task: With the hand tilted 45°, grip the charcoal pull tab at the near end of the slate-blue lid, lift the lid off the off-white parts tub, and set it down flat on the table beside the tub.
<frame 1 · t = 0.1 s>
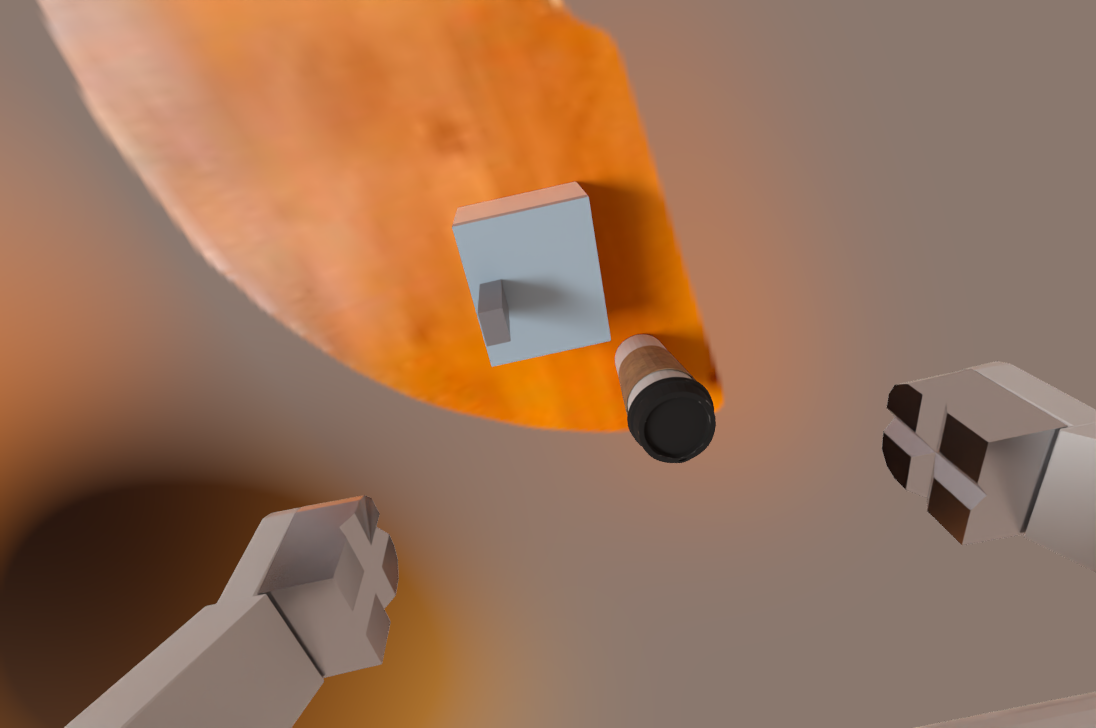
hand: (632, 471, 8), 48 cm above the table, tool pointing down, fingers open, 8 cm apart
lid: (536, 283, 50), point 7 cm above the table, touching parts tub
parts tub: (531, 261, 56), on the table
coffee cup: (638, 355, 63), on the table
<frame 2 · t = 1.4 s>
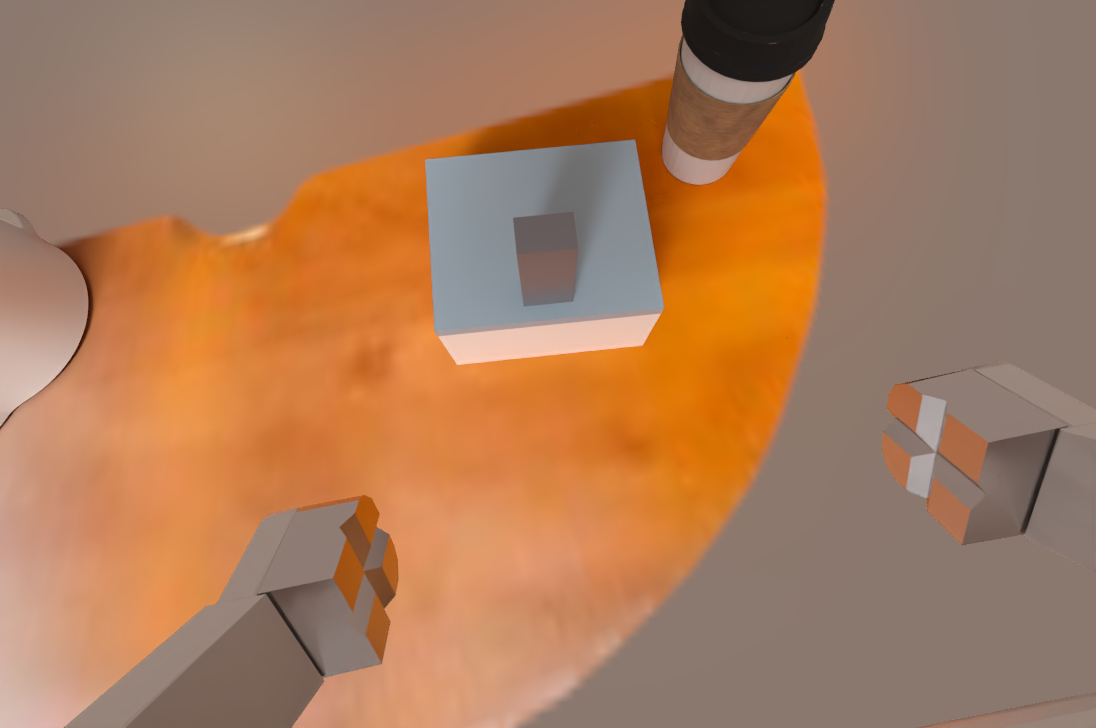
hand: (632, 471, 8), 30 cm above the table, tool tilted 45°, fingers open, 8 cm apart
lid: (540, 238, 35), point 7 cm above the table, touching parts tub
parts tub: (541, 281, 41), on the table
coffee cup: (695, 155, 45), on the table
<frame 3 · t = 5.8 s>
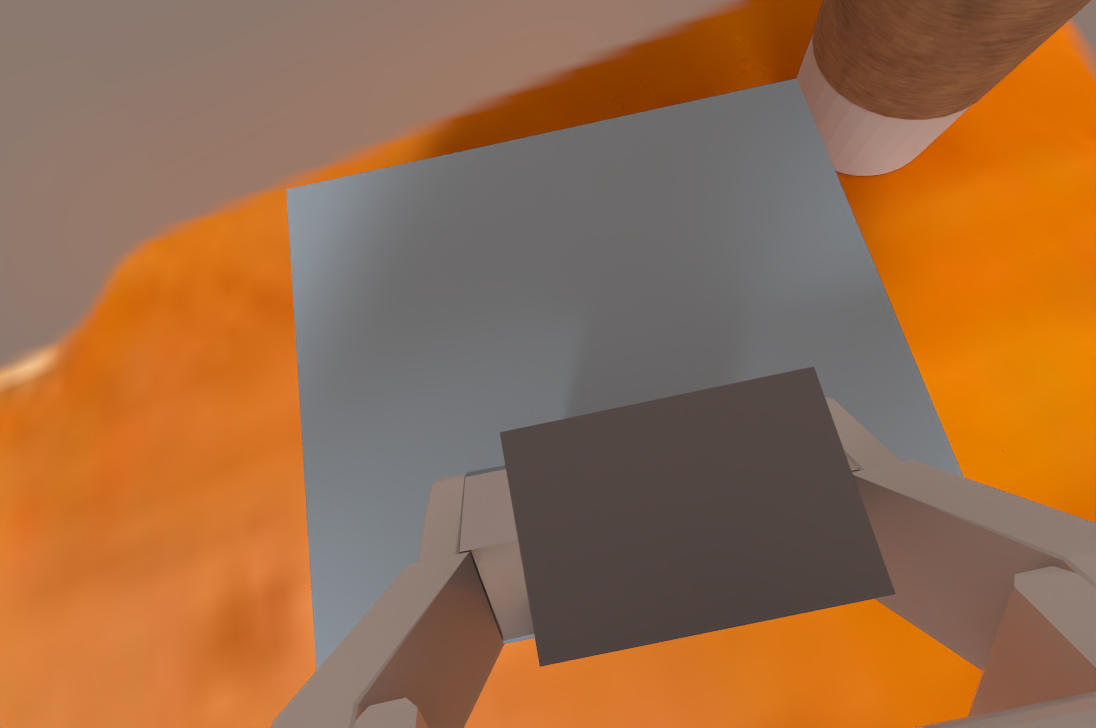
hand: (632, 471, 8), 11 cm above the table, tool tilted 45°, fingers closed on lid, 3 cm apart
lid: (587, 353, 14), point 7 cm above the table, touching gripper, parts tub
coffee cup: (854, 121, 23), on the table
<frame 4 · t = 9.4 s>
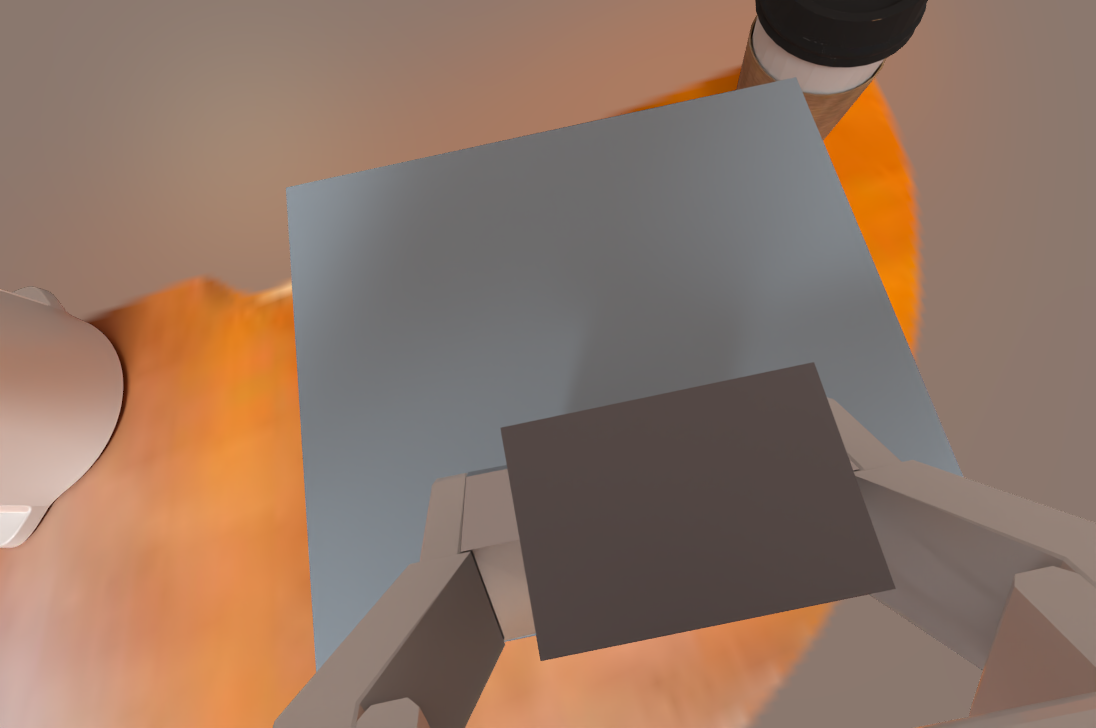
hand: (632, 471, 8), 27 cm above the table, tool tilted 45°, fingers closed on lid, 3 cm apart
lid: (587, 352, 14), point 22 cm above the table, touching gripper
coffee cup: (760, 157, 40), on the table
when the fingers open (7 cm above the table, at t = 12.9 s): lid drops 2 cm, point 1 cm above the table.
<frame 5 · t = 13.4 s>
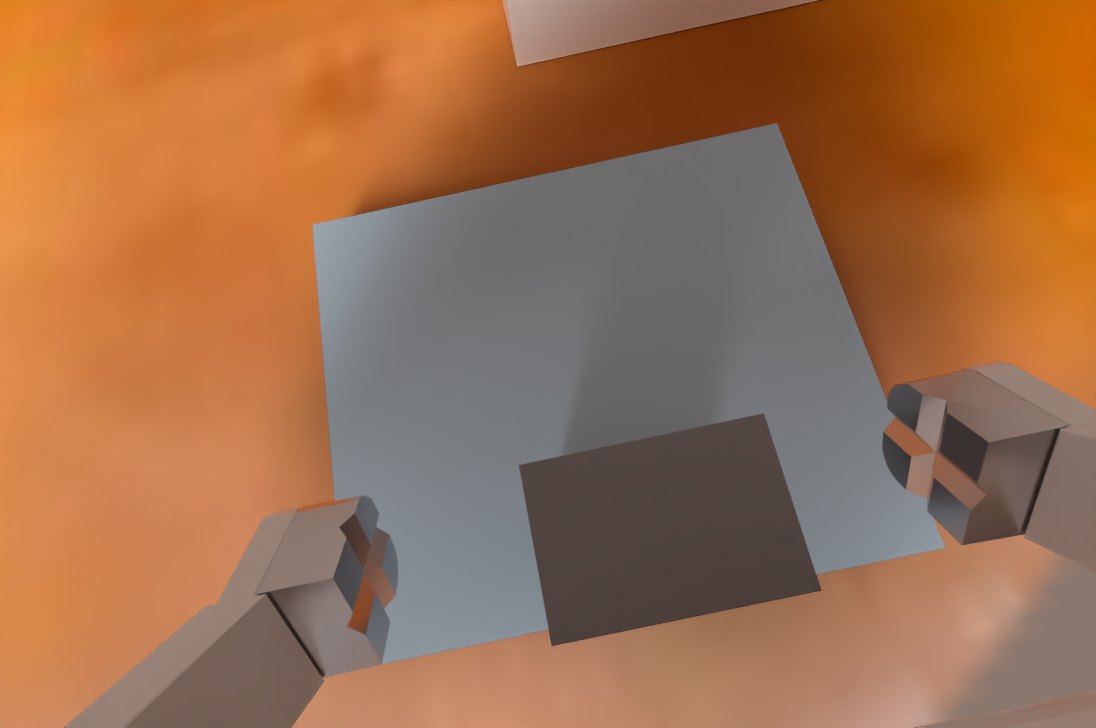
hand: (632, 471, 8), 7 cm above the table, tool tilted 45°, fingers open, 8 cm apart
lid: (587, 375, 15), point 1 cm above the table
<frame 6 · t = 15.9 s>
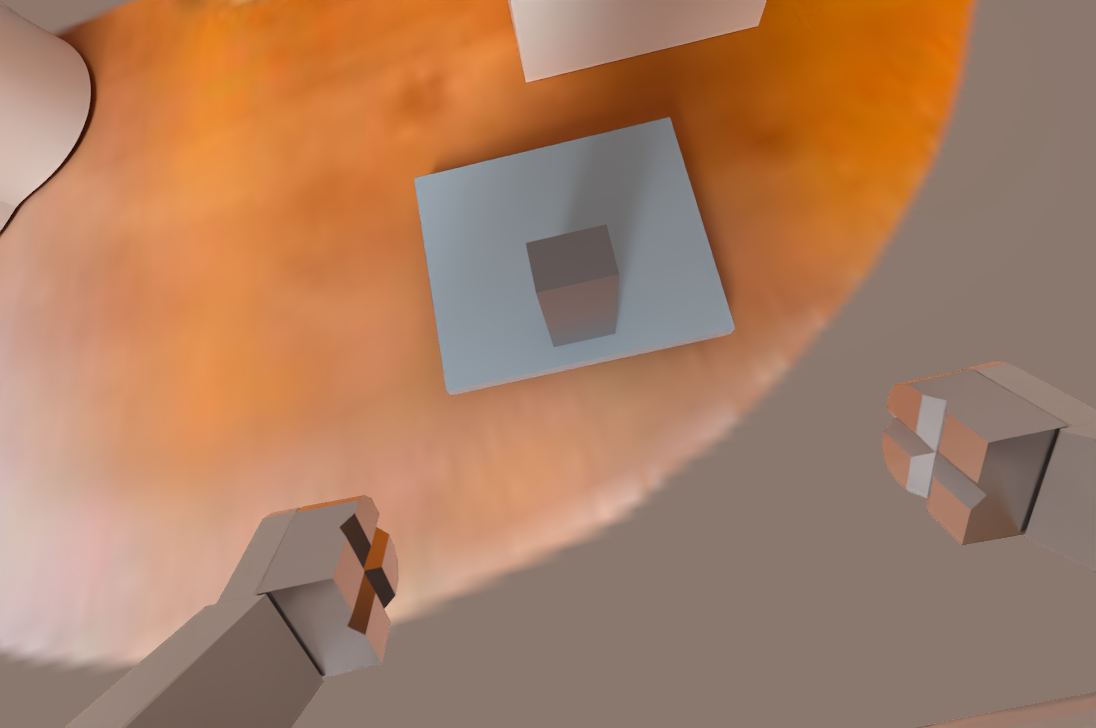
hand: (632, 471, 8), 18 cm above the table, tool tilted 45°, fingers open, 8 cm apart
lid: (564, 256, 28), point 1 cm above the table
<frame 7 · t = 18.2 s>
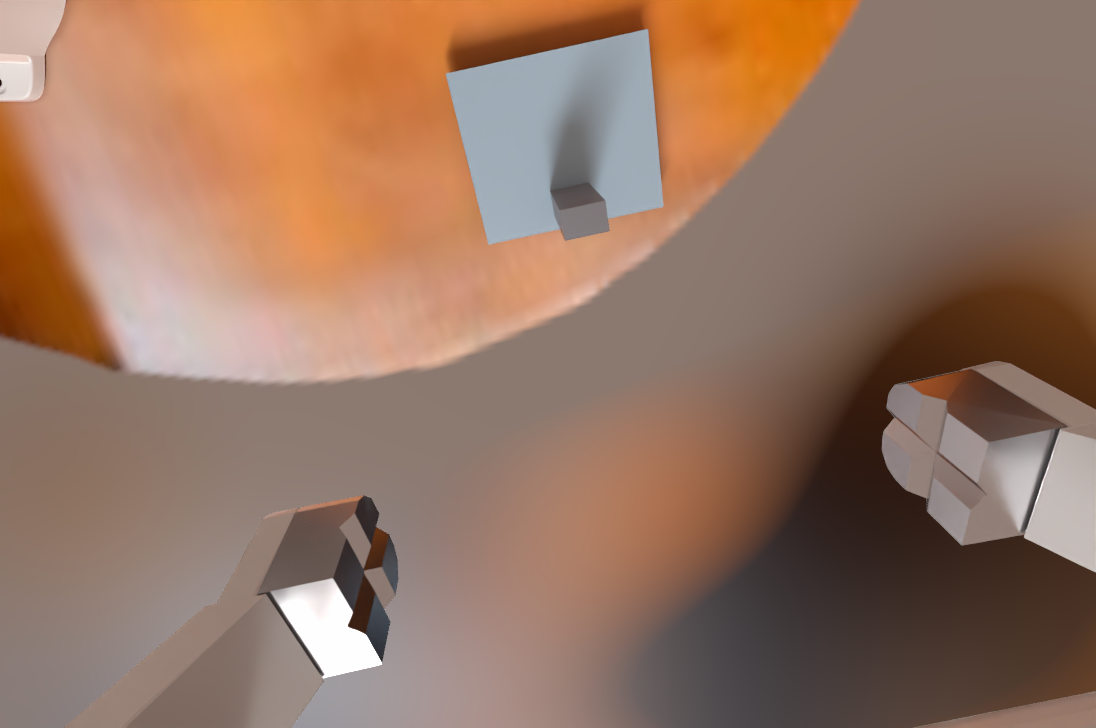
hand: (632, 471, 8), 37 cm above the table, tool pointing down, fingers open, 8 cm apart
lid: (560, 143, 40), point 1 cm above the table
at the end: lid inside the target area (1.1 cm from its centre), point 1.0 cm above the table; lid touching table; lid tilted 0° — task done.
